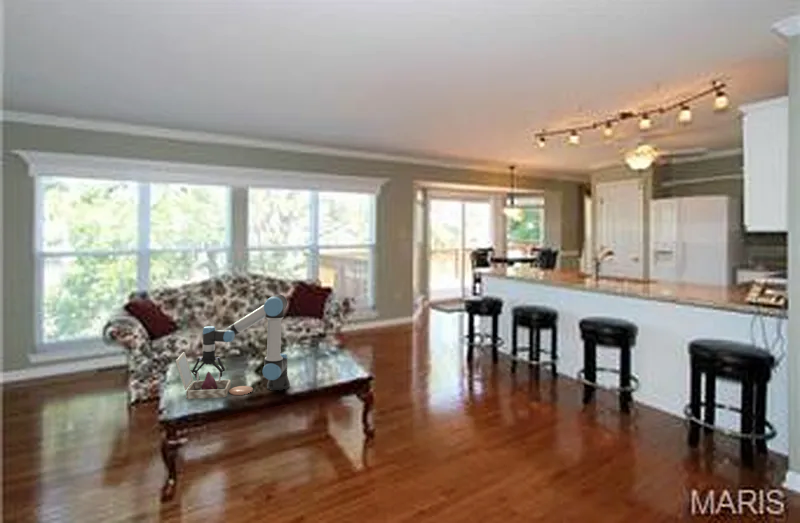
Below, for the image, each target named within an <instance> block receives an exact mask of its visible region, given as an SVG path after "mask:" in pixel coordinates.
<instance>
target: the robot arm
mask: <svg viewBox="0 0 800 523" xmlns="http://www.w3.org/2000/svg"><path fill="white" fill-rule="evenodd" d="M287 306H288V300H287V298H286V297H285V296H284V295H283V294H280V293H279V294H277V293H276V294H274V295H272V296H270V297H269V298H267V299H266V301H264V304H263V305H261V306H260V307H259V308H257V309H255V310H254V311H252V312H250V313H248V314H247V315H245V316H244V317H241V318H240V319H238V320H237V321H235V322H234V323H232V324H231V325H229V326H227V327H226V328H224V329H216V327H215V326H212V325H208V326H204V327H203V329H202V357H200V356H198V357H197V360H196V363H195V365H194V367H192V369H191V370H192V372H194V373H195V376H194V378H196V381H197V383H198V382H199V381H200V380H199V379H200V369H202V367H203V366H204V365H212V366H214V367H215V368H216V370H218V371H219V372H218V380H219V382H220V381H221V380H222V379H221V378H222V377H223V372H225V371H226V367H225V366H224V364H223V363H222V360H221V357H220V356H218V357H216V350H215V349H216V343H217V342H218V343H220V342H221V343H231V342H234V340H235V337H236V336H237V335H239V334H240V333H242V332H243V331H246V330H247V329H248V328H251V326H253V325H255V324H256V323H259V322H260V321H262V320H264V319H265V318H266V320H267V339H266V340H267V344H266V356H265V357H264V364H263V365H264V366H263V368H262V371H261V372H262V375H263V377H264V378H265V379H266V380H268V381H267V384H266V388H267V389H268V390H269V389H271V390H270V391H274V390H279V391H284V390H283V389H285V390H288V389H289V388H290V387H291V382H290V379H289V377H288V360H289V359H288V355H287V354H285V353H281V352H282V351H281V349H282V348H281V347H282V321H283V319H284V318H285V310H286V308H287ZM201 361H202V363H201V364H200V365H199V366H198V364H199V363H200V362H201ZM216 361H217V362H218V363H217V362H216ZM192 372H191V373H192ZM288 387H289V388H288ZM287 388H288V389H287Z"/></svg>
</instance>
